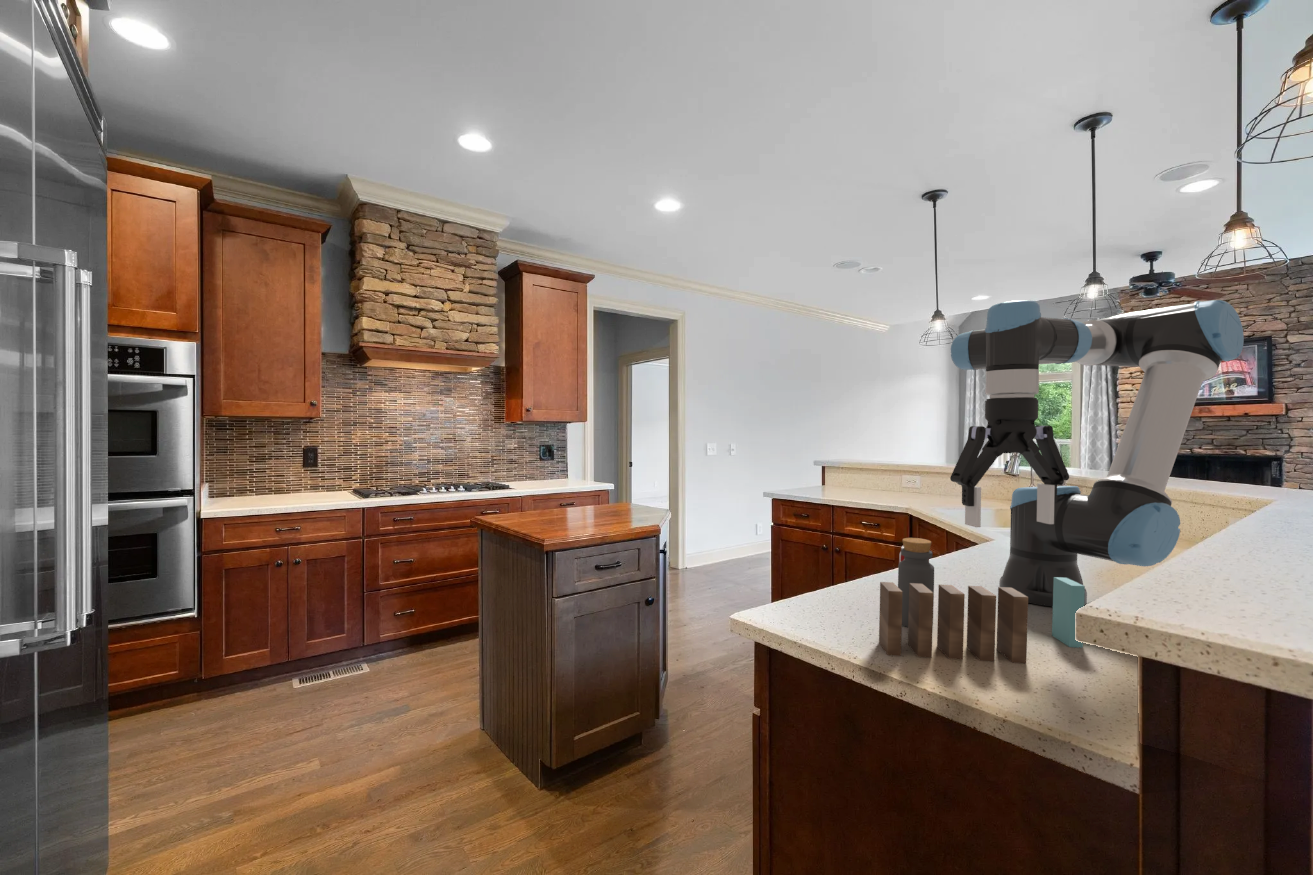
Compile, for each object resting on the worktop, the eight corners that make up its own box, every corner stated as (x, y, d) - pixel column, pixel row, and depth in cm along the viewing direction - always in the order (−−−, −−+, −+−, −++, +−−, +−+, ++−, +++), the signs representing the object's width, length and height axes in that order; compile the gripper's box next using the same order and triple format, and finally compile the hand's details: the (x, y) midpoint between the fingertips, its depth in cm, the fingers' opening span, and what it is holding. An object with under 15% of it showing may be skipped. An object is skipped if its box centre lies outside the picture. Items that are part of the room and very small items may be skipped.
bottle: (891, 623, 102) (893, 540, 102) (905, 615, 106) (906, 535, 106) (925, 632, 98) (927, 545, 98) (938, 624, 102) (940, 540, 102)
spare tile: (1064, 636, 97) (1066, 577, 97) (1082, 647, 92) (1084, 586, 92) (1051, 635, 97) (1053, 577, 97) (1069, 646, 92) (1071, 585, 92)
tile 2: (1009, 649, 91) (1011, 587, 91) (1026, 663, 86) (1028, 597, 86) (996, 649, 91) (998, 586, 91) (1012, 662, 86) (1013, 596, 86)
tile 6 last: (891, 643, 93) (893, 582, 93) (901, 655, 88) (902, 591, 88) (878, 642, 93) (880, 581, 93) (887, 655, 88) (888, 590, 88)
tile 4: (950, 646, 92) (951, 584, 92) (962, 659, 87) (964, 594, 87) (937, 645, 92) (938, 584, 92) (948, 658, 87) (950, 593, 87)
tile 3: (979, 648, 91) (981, 586, 91) (994, 661, 86) (996, 595, 86) (966, 647, 92) (968, 585, 91) (980, 660, 87) (982, 595, 86)
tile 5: (920, 645, 92) (922, 583, 92) (931, 657, 87) (933, 592, 87) (907, 644, 93) (909, 583, 92) (918, 656, 88) (919, 592, 87)
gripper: (1058, 397, 100) (1055, 517, 101) (928, 397, 96) (927, 522, 97) (1097, 395, 93) (1094, 525, 94) (958, 396, 89) (957, 531, 90)
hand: (1009, 524), depth 96 cm, fingers open, 13 cm apart
